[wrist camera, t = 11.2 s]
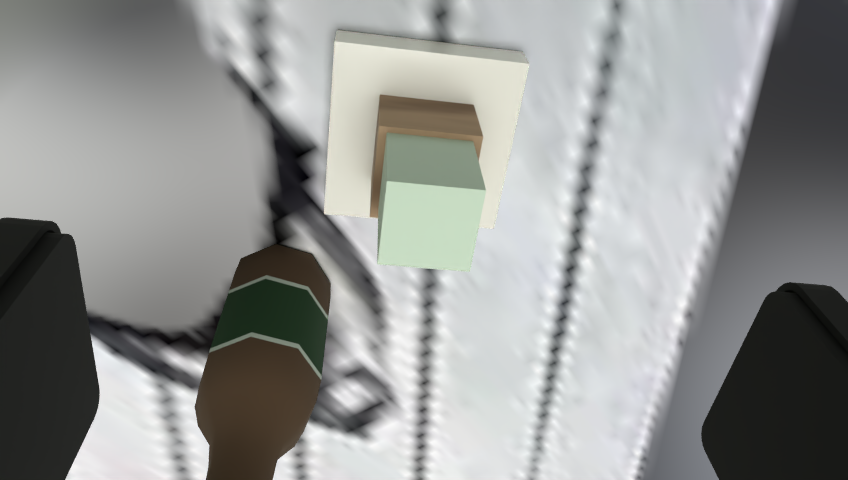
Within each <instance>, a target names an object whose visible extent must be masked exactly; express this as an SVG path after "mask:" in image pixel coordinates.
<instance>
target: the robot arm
mask: <svg viewBox="0 0 848 480" xmlns="http://www.w3.org/2000/svg"><path fill="white" fill-rule="evenodd" d="M99 393H100V392H99V384H98V378H97V372H96V366H95V360H94V354H93V347H92V341H91V335H90V329H89V323H88V317H87V311H86V305H85V299H84V293H83V287H82V282H81V276H80V270H79V263H78V257H77V251H76V245H75V242H74V239H73V237H72V236H71V235H69V234H61V232H60V229H59V227H58V226H57V224H56V223H54V222H52V221H42V220H31V219H30V220H29V219H19V218H1V219H0V480H65V479H66V476H67V474H68V472H69V470H70V468H71V466H72V464H73V462H74V460H75V458H76V455H77V453H78V451H79V449H80V447H81V445H82V443H83V441H84V439H85V437H86V434H87V432H88V430H89V428H90V426H91V424H92V422H93V420H94V417H95V415H96V412H97V408H98V404H99ZM701 434H702V443H703V447H704V450H705V452H706V454H707V456H708V458H709V460H710V462H711V464H712V466H713V468H714V470H715V472H716V474H717V476H718V478H719V480H848V302H847V301H846V300H845V299H844V298H843V297H842V296H841V295H840V294H839V293H838V291H836V290H835V289H834V288H832V287H830V286H826V285H816V284H804V283H791V282H789V283H785V284H783V285H782V286H780V287H779V288H778V289H777V291H775V292H771V293H770V294H769V295H767V297H766V298H765V300H764V302H763V304H762V305H761V307H760V310H759V312H758V314H757V316H756V318H755V320H754V322H753V324H752V326H751V328H750V330H749V332H748V334H747V336H746V338H745V340H744V342H743V344H742V346H741V348H740V351H739V352H738V354H737V356H736V358H735V360H734V362H733V364H732V366H731V368H730V370H729V373H728V375H727V376H726V379H725V380H724V383H723V385H722V387H721V389H720V391H719V393H718V395H717V397H716V399H715V401H714V403H713V405H712V407H711V409H710V411H709V413H708V415H707V417H706V419H705V421H704V424H703V426H702V433H701Z"/></svg>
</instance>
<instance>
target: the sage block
mask: <svg viewBox="0 0 848 480" xmlns="http://www.w3.org/2000/svg"><path fill="white" fill-rule="evenodd" d="M485 194H486V188H485V184H484V180H483V176H482V173H481V169H480V165H479V161H478V158H477V154H476V150H475V146H474V143H473V141H466V140H456V139H447V138H437V137H427V136H417V135H408V134H398V133H388V132H387V134H386V143H385V152H384V161H383V170H382V180H381V189H380V198H379V207H378V259H377V264H379V265H392V266H404V267H416V268H429V269H441V270H454V271H466V272H470V268H471V263H472V258H473V253H474V248H475V243H476V238H477V234H478V229H479V224H480V219H481V214H482V209H483V204H484V199H485Z"/></svg>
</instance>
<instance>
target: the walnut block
mask: <svg viewBox="0 0 848 480" xmlns="http://www.w3.org/2000/svg"><path fill="white" fill-rule="evenodd" d="M387 132H388V133H398V134H408V135H417V136H427V137H437V138H447V139H456V140H466V141H473V143H474V146H475V150H476V154H477V158H478V161H479V157H480V152H481V146H482V141H483V134H482V130H481V127H480V124H479V120H478V117H477V114H476V110H475V107H474V105H472V104H463V103H454V102H445V101H435V100H426V99H417V98H408V97H398V96H389V95H380V97H379V107H378V116H377V126H376V136H375V146H374V156H373V166H372V176H371V197H370V217H375V218H378V207H379V198H380V189H381V180H382V170H383V161H384V152H385V143H386V134H387Z"/></svg>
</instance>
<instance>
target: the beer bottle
mask: <svg viewBox="0 0 848 480" xmlns="http://www.w3.org/2000/svg"><path fill="white" fill-rule="evenodd" d="M330 288H331V283H330V282H329V280H328V279H327V277H326V276H325V274H324V273H323V271H322V269H321V268H320V266H319V265H318V263H317V262H316V260H315V259H314V257H313V256H312V254H309V253H306V252H302V251H299V250H295V249H292V248H288V247H285V246H281V245H278V244H274V245H272V246H270V247H267V248H265V249H262V250H260V251H258V252H255V253H253V254H250V255H248V256H246V257H243V258H241V260H240V262H239V265H238V267H237V269H236V271H235V274H234V277H233V281H232V284H231V287H230V290H229V293H228V296H227V299H226V302H225V305H224V308H223V311H222V314H221V318H220V321H219V324H218V327H217V330H216V333H215V336H214V339H213V342H212V345H211V348H210V351H209V355H208V358H207V362H206V365H205V368H204V372H203V375H202V379H201V382H200V386H199V390H198V395H197V399H196V404H195V411H196V417H197V423H198V427H199V428H200V430H201V432H202V433H203V435H204V437H205V438H206V440H207V442H208V443H209V445H210V447H209V467H208V472H207V477H206V480H272V479H273V475H274V471H275V467H276V463H277V460H278V459H279V458H280V457H281V456H283V455H284V454H285V453H287V452H288V451H289V450H290V449H292V448H293V447H294V446H295V444H296V443H297V441H298V440H299V438H300V436H301V435H302V433H303V432H304V429H305V427H306V425H307V422H308V420H309V417H310V415H311V413H312V410H313V408H314V405H315V403H316V401H317V396H318V392H319V387H320V383H321V376H322V367H323V358H324V349H325V340H326V332H327V323H328V314H329V305H330Z"/></svg>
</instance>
